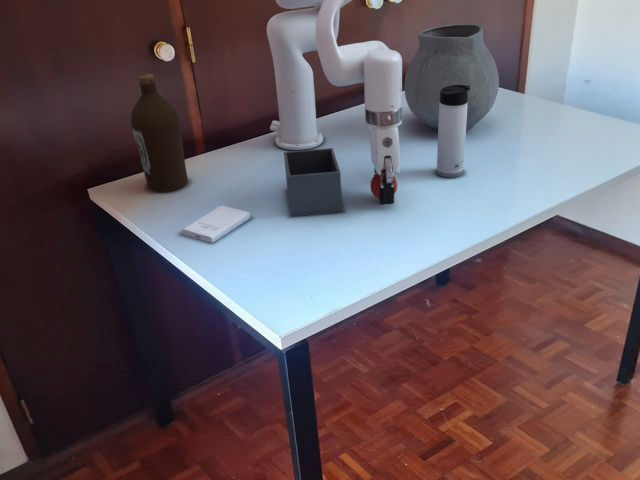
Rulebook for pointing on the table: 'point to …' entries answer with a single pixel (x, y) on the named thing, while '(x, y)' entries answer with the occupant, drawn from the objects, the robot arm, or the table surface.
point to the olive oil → (158, 139)
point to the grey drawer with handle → (313, 182)
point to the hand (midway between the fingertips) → (383, 196)
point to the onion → (376, 184)
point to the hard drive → (216, 224)
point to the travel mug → (452, 130)
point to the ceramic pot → (451, 72)
